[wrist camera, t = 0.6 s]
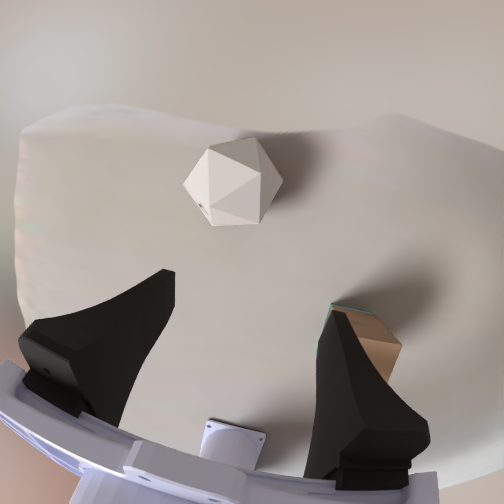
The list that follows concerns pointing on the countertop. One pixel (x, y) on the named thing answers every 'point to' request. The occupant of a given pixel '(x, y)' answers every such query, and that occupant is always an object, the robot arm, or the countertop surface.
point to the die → (234, 183)
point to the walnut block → (372, 338)
